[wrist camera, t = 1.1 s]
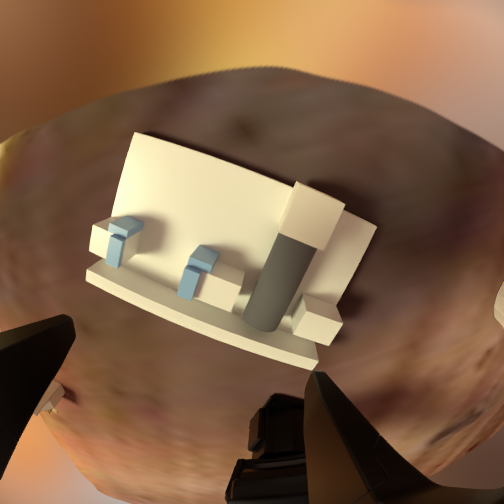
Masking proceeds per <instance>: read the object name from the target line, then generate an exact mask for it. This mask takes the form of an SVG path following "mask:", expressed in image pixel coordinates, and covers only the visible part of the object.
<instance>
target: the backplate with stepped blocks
mask: <svg viewBox="0 0 504 504" xmlns="http://www.w3.org/2000/svg"><path fill="white" fill-rule="evenodd" d="M293 188H294V187H291V186H289V185H287V184H284V183H282V182H279V181H277V180H274V179H272V178H270V177H267V176H265V175H262V174H259V173H257V172H254V171H252V170H249V169H247V168H244V167H241V166H239V165H236V164H233V163H230V162H228V161H225V160H222V159H219V158H217V157H214V156H211V155H208V154H205V153H202V152H199V151H196V150H193V149H190V148H187V147H184V146H181V145H178V144H175V143H172V142H169V141H165V140H162V139H159V138H155V137H152V136H149V135H145V134H142V133H136V132H135V133H134V136H133V139H132V142H131V145H130V148H129V151H128V154H127V158H126V161H125V165H124V168H123V172H122V175H121V179H120V183H119V187H118V191H117V195H116V199H115V203H114V207H113V212H112V217H110V218H108V219H105V220H103V221H101V222H98V223H96V224H94V225H93V228H92V235H91V241H90V248H89V251H90V252H92V253H95V254H97V255H99V256H101V257H103V259H101V260H100V261H98V262H97V263H95V264H94V265H92V266H91V267H89V268H88V269H87V273H86V281H88V282H90V283H91V284H93V285H95V286H97V287H99V288H101V289H103V290H105V291H107V292H109V293H111V294H113V295H115V296H117V297H119V298H121V299H123V300H125V301H127V302H129V303H131V304H134V305H136V306H138V307H140V308H142V309H144V310H147V311H149V312H151V313H153V314H155V315H158V316H160V317H162V318H165V319H167V320H169V321H172V322H174V323H176V324H179V325H181V326H184V327H186V328H188V329H191V330H193V331H196V332H198V333H201V334H203V335H206V336H209V337H211V338H214V339H217V340H219V341H222V342H225V343H227V344H230V345H233V346H236V347H239V348H241V349H244V350H247V351H250V352H253V353H256V354H259V355H262V356H265V357H268V358H272V359H275V360H278V361H281V362H284V363H288V364H291V365H294V366H298V367H301V368H305V369H308V370H313V368H314V367H315V366H316V364H317V363H318V356H317V351H316V346H315V342H318V343H321V344H324V345H327V346H329V345H330V343H331V342H332V340H333V339H334V337H335V336H336V334H337V333H338V331H339V329H340V328H341V326H342V325H343V322H342V320H341V317H340V314H339V312H338V309H337V307H336V305H337V303H338V301H339V299H340V298H341V296H342V294H343V292H344V291H345V289H346V287H347V285H348V283H349V281H350V280H351V278H352V276H353V274H354V272H355V270H356V268H357V266H358V264H359V263H360V261H361V259H362V257H363V255H364V253H365V251H366V249H367V247H368V245H369V243H370V241H371V239H372V236H373V234H374V232H375V230H376V228H377V226H375V225H374V224H372V223H370V222H368V221H366V220H364V219H362V218H360V217H358V216H356V215H354V214H352V213H349V212H347V211H345V210H343V211H342V213H341V215H340V217H339V220H338V222H337V224H336V226H335V228H334V231H333V233H332V235H331V237H330V239H329V241H328V243H327V245H326V247H325V250H324V251H322V250H319V249H317V250H316V253H315V255H314V257H313V259H312V261H311V263H310V265H309V267H308V269H307V271H306V273H305V275H304V277H303V279H302V281H301V283H300V285H299V287H298V289H297V291H296V293H295V295H294V297H293V299H292V301H291V303H290V305H289V307H288V309H287V310H286V312H285V314H284V316H283V318H282V320H281V322H280V324H279V326H278V327H277V329H276V330H275V331H273V332H263V331H259V330H257V329H255V328H253V327H251V326H250V325H249V324H248V323H247V322H246V321H245V320H244V318H243V312H244V310H245V307H246V305H247V303H248V301H249V299H250V296H251V294H252V292H253V290H254V287H255V285H256V283H257V281H258V278H259V276H260V274H261V271H262V269H263V267H264V265H265V262H266V260H267V258H268V256H269V253H270V251H271V249H272V246H273V244H274V242H275V239H276V237H277V235H278V233H279V224H278V223H279V221H280V218H281V216H282V214H283V211H284V209H285V207H286V204H287V202H288V200H289V197H290V195H291V192H292V190H293Z"/></svg>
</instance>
